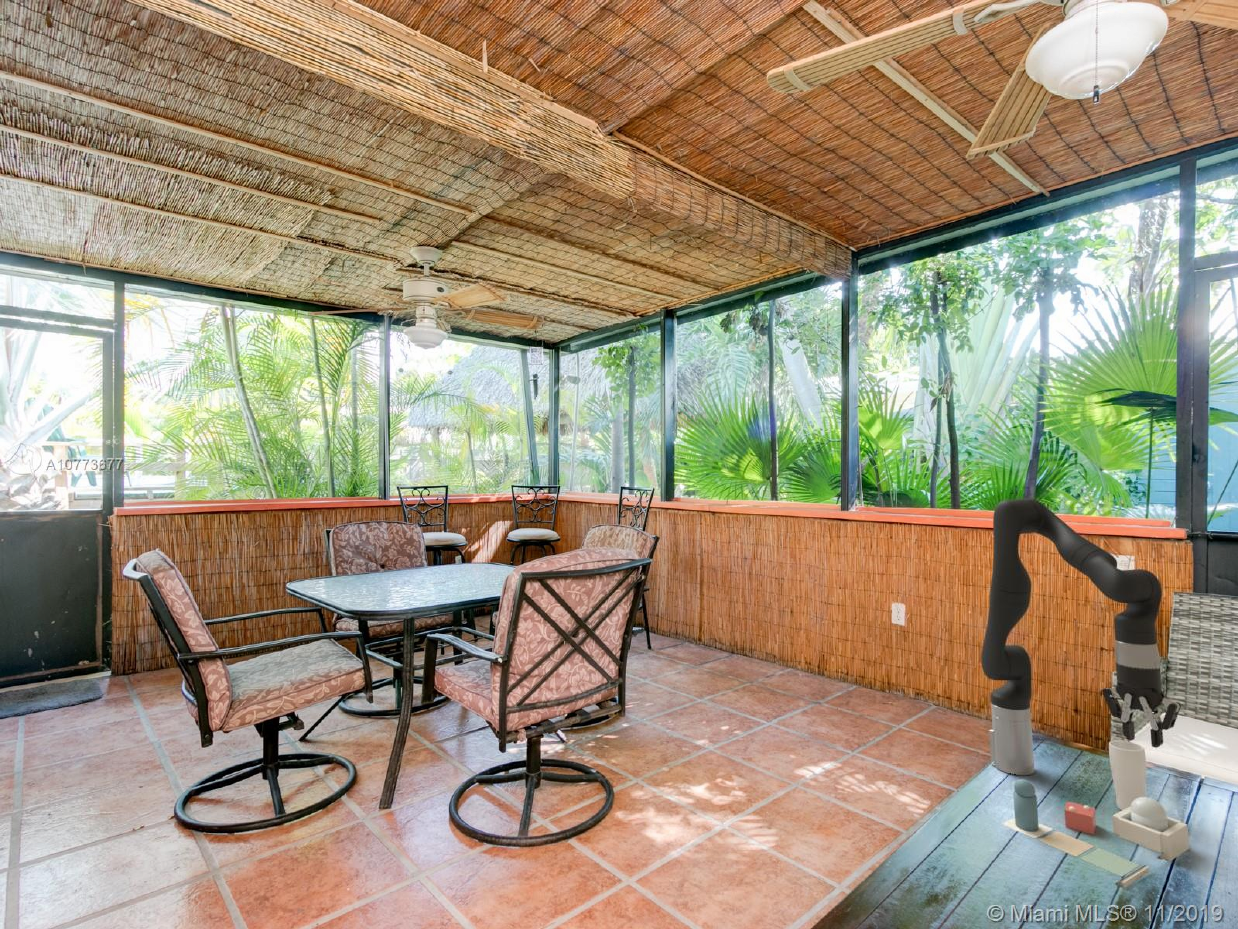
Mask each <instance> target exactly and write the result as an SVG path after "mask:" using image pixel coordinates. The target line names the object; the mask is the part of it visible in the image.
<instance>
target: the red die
mask: <svg viewBox="0 0 1238 929" xmlns="http://www.w3.org/2000/svg"><path fill="white" fill-rule="evenodd" d="M1096 821H1097V820H1096V808H1095V807H1092V806H1089V805H1083V804H1080V803H1075V802H1072V801H1067V802H1066V805H1065V808H1064V824H1065V828H1066V829H1070V830H1075V831H1078V832H1082V833H1085V834H1090V835H1093V836H1094V834H1095V831H1096V827H1097V822H1096Z"/></svg>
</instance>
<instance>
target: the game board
mask: <svg viewBox="0 0 1238 929" xmlns="http://www.w3.org/2000/svg"><path fill="white" fill-rule="evenodd" d="M1001 825H1003V826H1005V827H1007V828H1009V829H1012V830H1014V831H1016V832H1018V833H1021V834H1024V835H1025V836H1027V837H1030V838H1032V839H1034V840H1035V839H1037V838H1040V837H1042V836H1043V835H1045V834H1047V833H1049V832H1051V831H1053V830H1054V828H1052V827H1049V826H1046V825H1045V824H1042V823H1040V822H1038V825H1039V830H1038V831H1035V832H1030V831H1025V830H1022V829H1020V828H1018V827H1017V826H1016V825H1015V817H1013V818H1011V819H1009V820H1006V821H1004V822H1002V823H1001ZM1038 841H1039V842H1041V843H1044V844H1046V845H1047V846H1051V847H1053V848H1055V849H1057V850H1059V851H1062V852H1064V853H1066V854H1068V855H1071V856H1073V857H1076V858H1077V857H1078V856H1080V855H1082V854H1084V853H1085V852H1088V851H1089V850H1091V849H1093V848H1094V847H1095V846H1094V845H1092V844H1090V843H1088V842H1085V841H1082V840H1080V839H1078V838H1076V837H1073V836H1070V835H1068V834H1065V833H1063V832H1061V831H1058V830H1056V831H1054V832H1052V833H1050V834H1048V835H1046V836H1044V837H1043V838H1040V839H1038ZM1080 860H1082V861H1084V862H1087V863H1088V864H1091V865H1094V866H1095V867H1096V866H1097V867H1098V868H1100V869H1103V870H1106V871H1108V872H1110V873H1112V874H1114V875H1117V876H1119V877H1123V878H1122V879H1120V880H1119V881H1117V882H1115V883H1114V885H1116V886H1118V887H1120V888H1121V889H1125V888H1127V887H1128V886H1130V885H1131V884H1133V883H1135V882H1136V881H1138V880H1139V879H1141V878H1142V877H1144V876H1145V875H1147V874H1149V873H1150V866H1148V865H1145V864H1144V865H1143V866H1141V865H1140V864H1138V863H1135V862H1133V861H1131V860H1129V859H1126V858H1123V857H1122V856H1119V855H1118V854H1117V855H1116V854H1114V853H1111V852H1109V851H1107V850H1104V849H1103V848H1100V847H1098V848H1096V849H1095V850H1093V851H1091V852H1089V853H1087V854H1085V855H1084V856H1082V857H1080ZM1135 869H1136V870H1135ZM1133 870H1134V871H1133ZM1132 871H1133V872H1132ZM1130 872H1131V873H1130ZM1129 873H1130V874H1129ZM1127 874H1128V875H1127ZM1125 875H1127V876H1125ZM1124 876H1125V877H1124Z"/></svg>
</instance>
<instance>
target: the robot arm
mask: <svg viewBox="0 0 1238 929" xmlns="http://www.w3.org/2000/svg"><path fill="white" fill-rule="evenodd" d="M992 523H993V524H992V527H993V528H992V529H993V531H992V533H993V556H992V557H993V560H992V574H991V581H990V591H989V604H988V605H989V606H988V616H987V623H986V629H985V634H984V639H983V643H982V648H981V655H980V658H981V659H980V660H981V661H980V662H981V668H982V672H983V674H984V675H985V676H986V677H987V679H990V680H992V681H1006V682H1005V683H1004V684H1003V685H1001V686H1000V687H998V688H996V689H994V690H992V691H991V692H990V708H991V710H990V711H991V722H992V724H991V725H992V728H991V729H990V730H988V732H989V747H990V762H991V763H992V762H993V761H994V763H993V764H995V765H993V764H992V766H994V767H995V768H996V769H998V770H1000V771H1001V772H1003V773H1007V774H1010V773H1011V775H1014V774H1016V775H1015V776H1030V775H1033V774H1034V773H1035V759H1034V747H1033V746H1034V745H1033V730H1032V718H1031V717H1032V716H1031V715H1032V714H1031V699H1032V693H1033V691H1032V663H1031V658H1030V655H1029V653H1028V651H1026V649H1025V648H1024V647H1023V646H1021V645H1018V644H1017V645H1016V644H1007V640H1008V638H1009V635H1010V633H1011V632H1012V630H1014V627H1016V625H1017V624H1019V622H1020V621H1021V619H1022V618H1023V617H1024V616H1025V614H1026V613H1027V612H1028V609H1029V606H1030V603H1031V602H1030V601H1031V595H1032V594H1031V593H1032V581H1031V578H1030V574H1029V573H1028V571H1027V569H1026V567H1025V566H1024V564H1023V562H1022V560H1021V557H1020V554H1019V553H1020V552H1019V546H1020V537H1021V535H1024V534H1031V533H1034V534H1035V533H1036V534H1037V535H1040V536H1043V537H1045V538H1047V539H1048V540H1050V541H1051V542H1052V543H1053V544H1054V546H1055V548H1056V551H1057V552H1058V554H1059V556H1060V557H1061V558H1062V559H1063V560H1064V562H1066V563H1067V564H1068V565H1070V566H1071V567H1072V568H1074V569H1075V570H1077V571H1078V572H1080V573H1082V575H1084V576H1086V577H1088V579H1090V581H1091V582H1092V583H1093V585H1095V587H1096V588H1097V589H1098V590H1099V591H1100V592H1101V594H1102V595H1104V596H1105V597H1107V598H1108V599H1109V600H1112V601H1114V602H1116V603H1120V604H1126V606H1125V609H1124V610H1123V611H1122V612H1119V613H1117V614H1116V615H1115V616H1114V621H1113V625H1114V626H1113V628H1114V639H1115V640H1114V658H1115V659H1114V660H1115V661H1114V662H1115V670H1116V671H1115V673H1116V681H1117V684H1116V686H1115V687H1111V686H1109V687H1105V688H1103V689H1101V692H1102V696H1103V698H1104V701H1105V703H1106V705H1107V707H1108V709H1109V712H1110V714H1111V716H1112V717H1114V718H1117V719H1119V720H1120V721H1121V723H1122V724H1121V725H1122V735H1123V736H1124V738H1125V739H1126V741H1129V742H1131V741H1133V740H1135V739H1136V735H1135V734H1136V733H1135V724H1134V723H1135V722H1134V721H1133V720H1134V716H1135V712H1136V711H1137V710H1138V711H1141V712H1143V713H1144V714H1145V718H1146V719H1148V722H1149V724H1150V727H1151V729H1150V743H1151V744H1150V745H1151V747H1152V748H1156V749H1158V748H1159V747H1160V746H1162V745H1163V744H1164V734H1163V732H1164V731H1167V730H1169V729H1172V728H1174V727H1175V725H1176V722H1177V719H1178V715H1179V714H1180V710H1181V707H1182V704H1181V703H1180V702H1179V701H1172V700H1170V699H1169V698H1167V697H1166V696H1165V694H1164V693H1163V690H1162V688H1163V687H1162V685H1163V684H1162V674H1161V673H1162V672H1161V659H1160V652H1159V648H1158V643H1157V642H1158V641H1157V629H1156V621H1157V619H1158V614H1159V612H1160V611H1159V610H1160V607H1161V602H1162V597H1163V596H1162V595H1163V590H1162V585H1161V582H1160V580H1159V578H1158V577H1157V575H1156V574H1154V573H1153V572H1152V571H1150V570H1148V569H1147V570H1146V569H1143V568H1142V569H1141V568H1138V569H1137V568H1136V569H1119V568H1118V561H1117V558H1115V556H1113V555H1112V554H1111V553H1110V552H1108V551H1106V550H1105V549H1103V548H1102V547H1100V546H1098V545H1097V544H1096V543H1094V542H1091V541H1090V540H1089V539H1086V538H1085V537H1084V536H1082V535H1081V534H1079V533H1078V532H1076V531H1075V530H1074V529H1073V528H1072V527H1070V525H1068V524H1067V523H1066V522H1065V521H1063V520H1062V519H1061V518H1060V517H1059V516H1057V515H1056V514H1055V513H1054V512H1053V511H1052V510H1050V509H1049V508H1048V507H1047V506H1046V505H1044V504H1043V503H1042V502H1040V501H1039V500H1037V499H1035V498H1031V497H1026V498H1025V497H1024V498H1023V497H1022V498H1014V499H1005V500H1002V501H1000V502H998V504H996V506H995V509H994V511H993V522H992ZM1118 697H1120V699H1121V700H1122V701H1123V703H1122V707H1121V705H1120V703H1119V700H1118ZM1162 704H1163V706H1164V707H1163V708H1164V710H1165V711H1166V713H1165V715H1164V717H1163V719H1162V718H1161V715H1162V714H1161V711H1160V708H1159V707H1160V706H1161V705H1162Z"/></svg>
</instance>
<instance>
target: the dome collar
mask: <svg viewBox="0 0 1238 929" xmlns="http://www.w3.org/2000/svg"><path fill="white" fill-rule="evenodd" d="M1167 822H1168V829H1167V830H1166V831H1164V832H1159V831H1156V830H1154V829H1151V828H1148V827H1146V826H1143V825H1140V824H1137V823H1135V822H1132V821H1131V806H1130V807H1128V808H1126V809H1124V810H1120V811H1118V812H1116V813H1115V814H1113V815H1112V830H1113V834H1115V835H1118V837H1119V838H1121V839H1125V841H1126V840H1127V841H1129V842H1132V843H1134V844H1137V845H1139V846H1142V847H1144V848H1147V849H1150V850H1152V851H1155V852H1157V853H1160V855H1158V856H1157V857H1156V859H1159V860H1163V859H1164V860H1166V861H1168V862H1171V861H1173V860H1174V859H1177V857H1179V856H1180V855H1182V854H1183V853H1185V852H1186V851H1188V850H1189V849H1190V844H1189V843H1190V842H1189V831H1188V830H1189V829H1188V824H1187V823H1184V822H1182V821H1181V820H1179V819H1176V818H1174V817H1170V816H1168V815H1167Z"/></svg>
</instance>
